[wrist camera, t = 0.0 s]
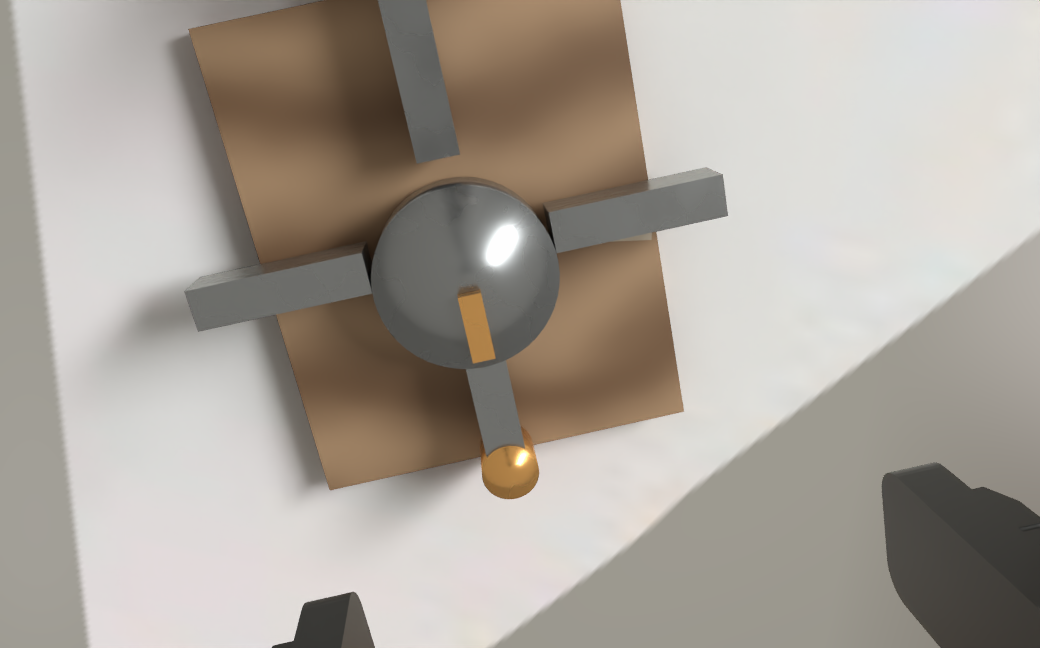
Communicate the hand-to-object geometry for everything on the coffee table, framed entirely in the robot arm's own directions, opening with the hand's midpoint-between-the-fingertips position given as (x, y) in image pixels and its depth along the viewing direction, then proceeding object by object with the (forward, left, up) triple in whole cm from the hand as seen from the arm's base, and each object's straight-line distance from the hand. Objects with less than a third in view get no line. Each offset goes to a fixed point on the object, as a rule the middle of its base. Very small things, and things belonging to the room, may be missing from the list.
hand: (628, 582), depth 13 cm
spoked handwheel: (0, -2, -27) cm, 27 cm away
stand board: (0, -2, -29) cm, 29 cm away
